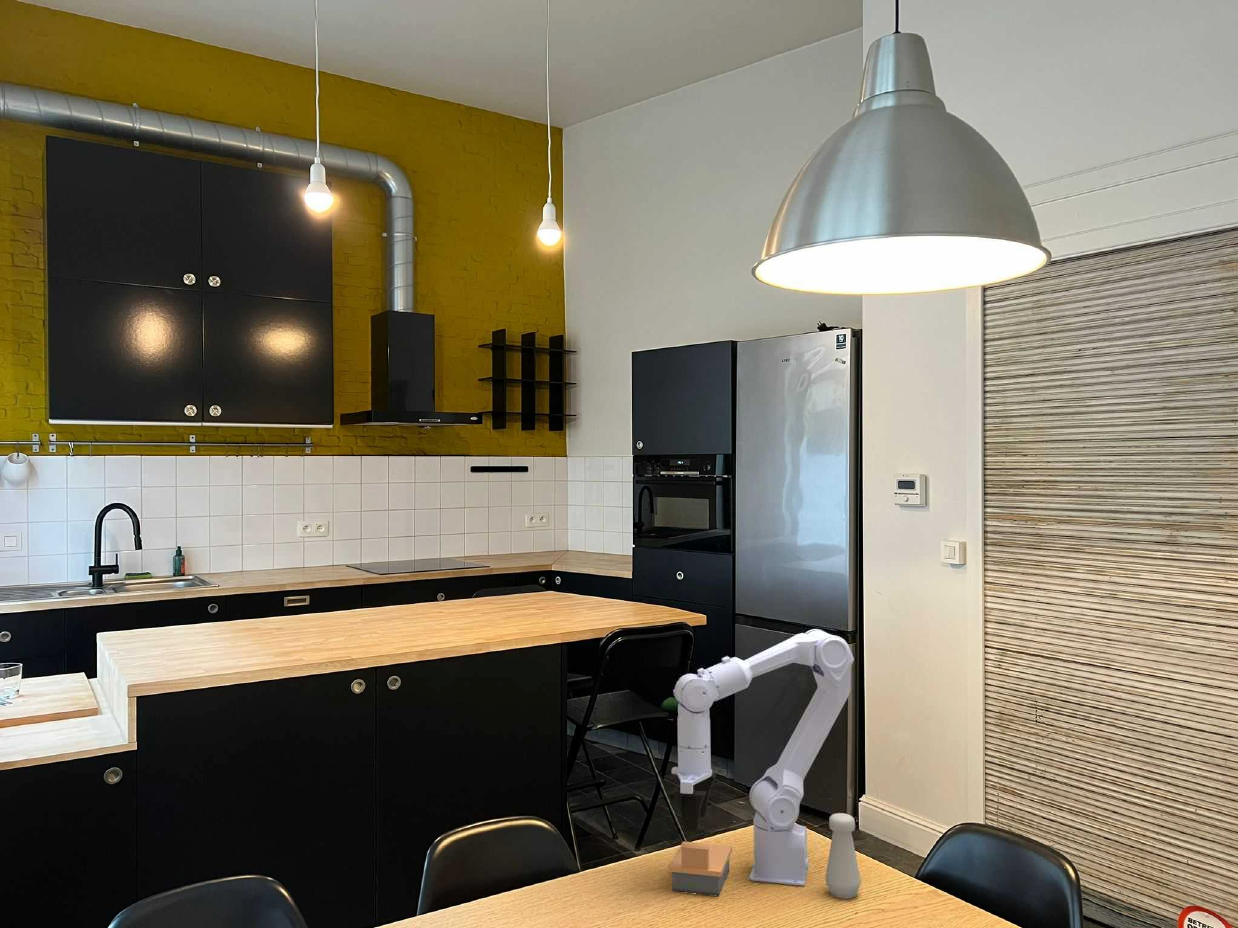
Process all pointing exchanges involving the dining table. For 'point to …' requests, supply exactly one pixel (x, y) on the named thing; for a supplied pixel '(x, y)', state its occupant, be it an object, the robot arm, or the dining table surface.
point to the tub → (699, 882)
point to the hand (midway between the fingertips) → (695, 822)
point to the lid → (701, 859)
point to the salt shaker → (842, 858)
